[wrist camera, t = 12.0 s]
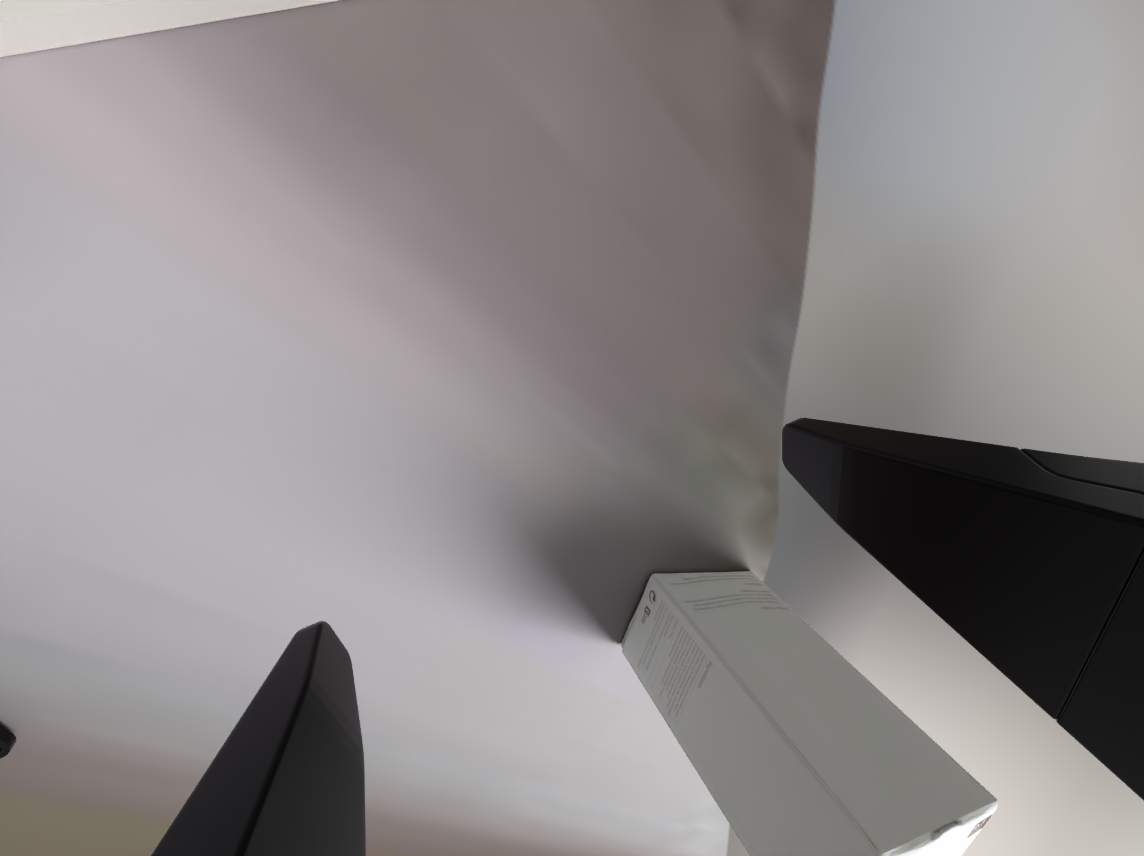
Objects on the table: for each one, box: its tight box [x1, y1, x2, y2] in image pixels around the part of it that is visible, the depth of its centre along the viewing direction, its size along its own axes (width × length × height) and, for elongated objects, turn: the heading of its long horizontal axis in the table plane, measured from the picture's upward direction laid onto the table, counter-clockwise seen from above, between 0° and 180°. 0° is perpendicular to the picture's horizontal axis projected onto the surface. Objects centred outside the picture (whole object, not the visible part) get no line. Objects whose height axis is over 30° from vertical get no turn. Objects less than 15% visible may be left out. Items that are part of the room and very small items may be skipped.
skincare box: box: [621, 571, 998, 856], centre depth 25 cm, size 8×6×15 cm
